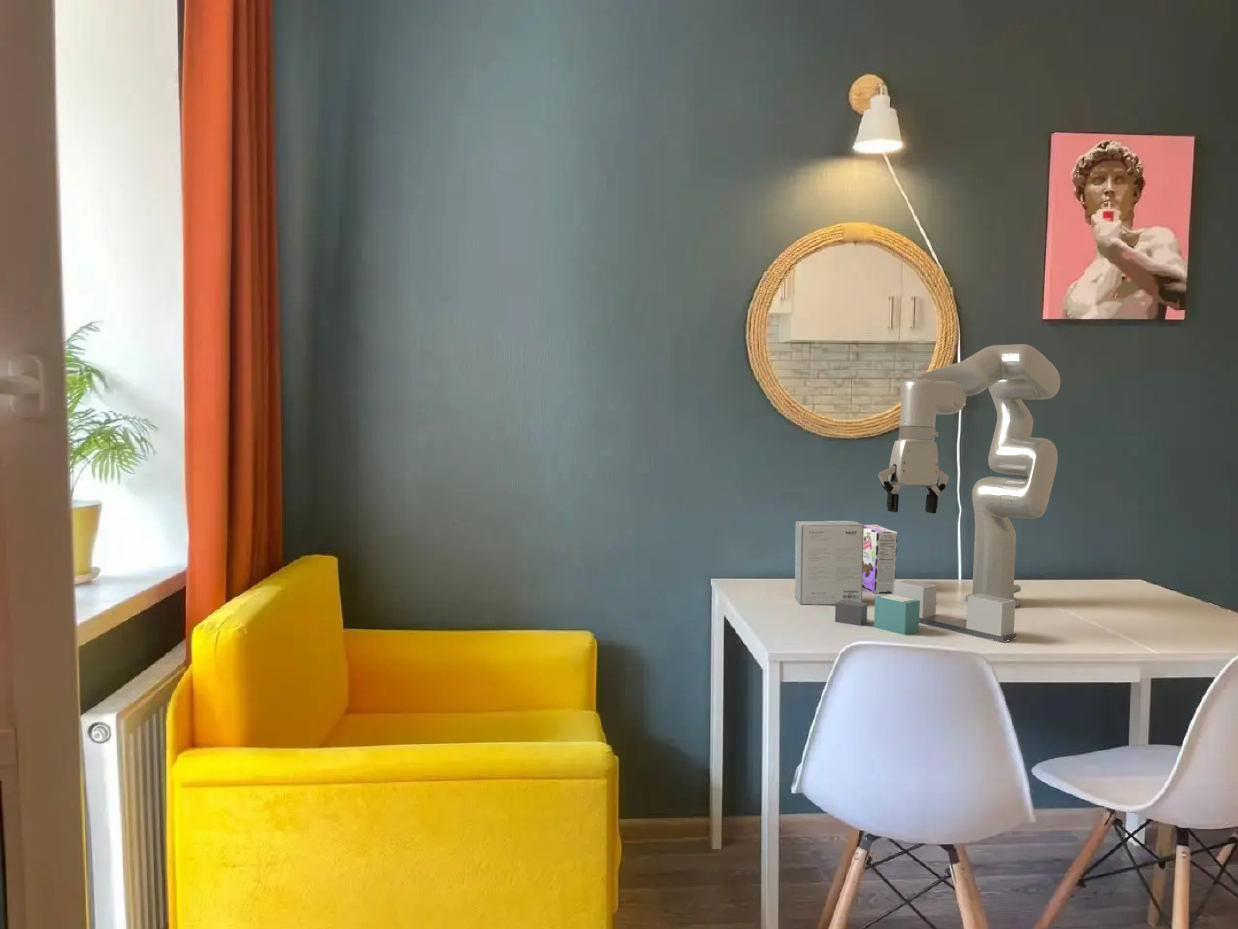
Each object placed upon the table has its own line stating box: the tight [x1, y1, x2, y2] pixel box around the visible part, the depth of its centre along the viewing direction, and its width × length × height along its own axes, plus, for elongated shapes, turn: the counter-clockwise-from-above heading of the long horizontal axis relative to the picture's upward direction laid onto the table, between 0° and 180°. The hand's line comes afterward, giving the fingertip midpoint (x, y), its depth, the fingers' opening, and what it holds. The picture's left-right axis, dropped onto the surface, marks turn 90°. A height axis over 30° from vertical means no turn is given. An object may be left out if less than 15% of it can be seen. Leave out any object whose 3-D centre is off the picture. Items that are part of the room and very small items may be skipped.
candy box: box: [862, 524, 898, 594], centre depth 244 cm, size 14×6×16 cm, turn 6°
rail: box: [919, 615, 1017, 643], centre depth 203 cm, size 28×5×1 cm, turn 37°
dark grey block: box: [834, 600, 868, 627], centre depth 206 cm, size 4×6×4 cm, turn 57°
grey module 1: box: [892, 579, 938, 618], centre depth 210 cm, size 8×5×7 cm, turn 37°
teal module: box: [873, 593, 920, 636], centre depth 200 cm, size 5×8×7 cm, turn 37°
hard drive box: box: [794, 520, 864, 606], centre depth 227 cm, size 16×8×20 cm, turn 90°
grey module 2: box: [966, 594, 1016, 636], centre depth 195 cm, size 8×5×7 cm, turn 37°
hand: (911, 512), depth 203 cm, fingers open, 9 cm apart
